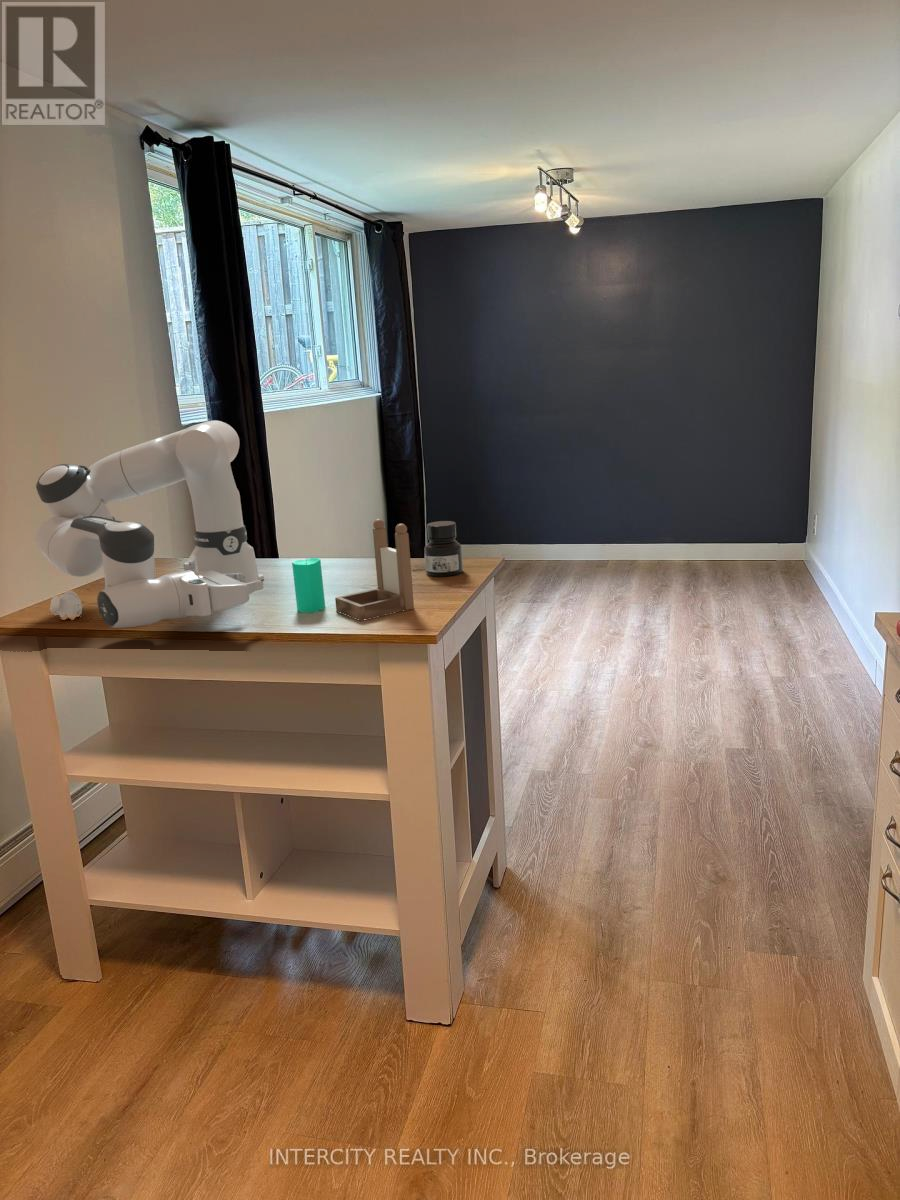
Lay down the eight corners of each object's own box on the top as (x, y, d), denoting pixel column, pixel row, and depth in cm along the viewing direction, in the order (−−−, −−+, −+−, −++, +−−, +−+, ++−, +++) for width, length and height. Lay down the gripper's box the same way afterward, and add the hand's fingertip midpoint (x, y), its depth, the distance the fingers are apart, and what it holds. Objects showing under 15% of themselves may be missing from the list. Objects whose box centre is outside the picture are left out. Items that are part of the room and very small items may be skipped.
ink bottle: (419, 577, 222) (415, 527, 219) (431, 568, 231) (427, 520, 227) (458, 577, 219) (455, 527, 216) (469, 568, 228) (466, 520, 224)
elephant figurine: (62, 614, 209) (57, 589, 208) (94, 614, 208) (89, 588, 206) (43, 623, 203) (38, 597, 202) (75, 623, 201) (71, 596, 200)
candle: (329, 604, 203) (323, 550, 200) (319, 612, 197) (313, 556, 194) (303, 605, 204) (297, 551, 201) (292, 612, 198) (286, 557, 195)
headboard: (377, 601, 203) (370, 519, 198) (387, 599, 204) (380, 517, 200) (405, 611, 194) (398, 525, 189) (415, 608, 195) (408, 523, 190)
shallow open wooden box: (336, 611, 197) (335, 597, 196) (379, 601, 203) (378, 588, 202) (361, 621, 189) (359, 606, 188) (405, 610, 194) (404, 596, 193)
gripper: (171, 599, 193) (235, 587, 201) (206, 618, 177) (274, 604, 184) (167, 569, 192) (231, 558, 199) (202, 586, 175) (270, 572, 183)
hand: (252, 580), depth 191 cm, fingers open, 8 cm apart
